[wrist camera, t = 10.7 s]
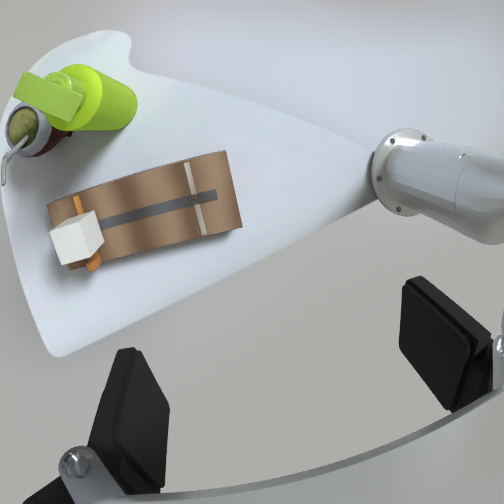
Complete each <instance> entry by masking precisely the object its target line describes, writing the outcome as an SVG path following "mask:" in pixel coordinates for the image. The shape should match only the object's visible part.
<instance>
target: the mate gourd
mask: <svg viewBox="0 0 504 504" xmlns="http://www.w3.org/2000/svg"><path fill="white" fill-rule="evenodd" d="M71 135H72V131H63V130H59V129H56V128H55V127H53V126H52V125H51V124H50V123H49V122H48V120H47V119H46V117H45V114H43V113H41V112H40V111H39V110H38V109H37V108H35V107H33V106H31V105H28V104H26V103H24V102H21V103H20V104H18V105H17V106H16V107H15V108H14V110H13V111H12V112H11V114H10V115H9V118H8V121H7V124H6V138H7V142H8V145H9V146H10V147H11V149H12V150H11V151H10V152H7V153H6V154H5V155H4V157H3V159H2V160H3V161H2V166H1V184H2V186H3V185H5V183H6V166H7V163H8V162H9V161H10V160H11V158H12V156H13V155H14V154H15V153H16V154H18V155H21V156H23V157H36V156H41V155H43V154H44V153H46V152H48V151H50V150H51V149H52V148H53V147H54V146H55V145H56V144H57V143H58V142H59V141H60V139H61V138H62V137H64V136H68V137H71Z"/></svg>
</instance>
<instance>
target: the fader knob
mask: <svg viewBox="0 0 504 504" xmlns="http://www.w3.org/2000/svg"><path fill="white" fill-rule="evenodd" d="M49 232H50V235H51V238H52V241H53V244H54V246H55V249H56V252H57V254H58V257H59V260H60V262H61V265H64V264H68V263H71V262H75V261H79V260H82V259H86V258H90V257H91V256H92V255H93V254H94V253H95V252H96V251H97V250H98V248H99V247H100V246H101V245H102V244H103V243H104V239H103V236H102V233H101V230H100V227H99V224H98V221H97V217H96V214H95V211H94V210H93V211H90V212H87V213H84V214H81V215H78V216H75V217H72V218H69V219H67V220H65V221H64V222H62V223H61V224H59V225H58V226H56V227H55V228H54V229H52V230H51V231H49Z"/></svg>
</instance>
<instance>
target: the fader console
mask: <svg viewBox="0 0 504 504" xmlns="http://www.w3.org/2000/svg"><path fill="white" fill-rule="evenodd" d="M47 207H48V211H49V214H50V217H51V220H52V223H53V226H54V228H55V227H56V226H58V225H59V224H61V223H62V222H64V221H65V220H67V219H69V218H72V217H75V216H78V215H81V214H84V213H87V212H90V211H93V210H94V211H95V214H96V217H97V221H98V224H99V227H100V230H101V233H102V236H103V239H104V243H103V244H102V245H101V246H100V247H99V248H98V250H97V251H96V252H95V253H94V254H93V255H92V256H91V257H90V258H86V259H82V260H79V261H75V262H71V263H68V267H69V269H70V270H73V269H77V268H81V267H85V266H86V267H87V269H88V272H90V271H94V270H96V269H97V268H98V266H99V265H100V264H101V262H104V261H107V260H111V259H115V258H119V257H123V256H127V255H131V254H135V253H138V252H142V251H146V250H150V249H154V248H158V247H162V246H166V245H170V244H175V243H179V242H183V241H187V240H191V239H195V238H199V237H203V236H208V235H212V234H216V233H220V232H224V231H229V230H233V229H237V228H242V222H241V218H240V213H239V209H238V204H237V200H236V195H235V190H234V186H233V181H232V177H231V172H230V168H229V163H228V159H227V154H226V151H225V150H223V151H218V152H214V153H210V154H206V155H201V156H197V157H193V158H189V159H185V160H182V161H178V162H174V163H170V164H166V165H163V166H159V167H156V168H152V169H149V170H145V171H142V172H138V173H135V174H132V175H128V176H125V177H122V178H119V179H115V180H112V181H109V182H106V183H103V184H100V185H97V186H94V187H91V188H88V189H85V190H82V191H80V192H77V193H74V194H71V195H68V196H66V197H63V198H60V199H58V200H55V201H53V202H51V203H50V204H48V205H47Z"/></svg>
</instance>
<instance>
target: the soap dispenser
mask: <svg viewBox="0 0 504 504" xmlns="http://www.w3.org/2000/svg"><path fill="white" fill-rule="evenodd" d="M13 97H15V98H17V99H18V100H20V101H22V102H24V103H26V104H28V105H31V106H33V107H35V108H37V109H38V110H39V111H40V112H41V113H43V114H45V117H46V119H47V120H48V122H49V123H50V124H51V125H52V126H53V127H55V128H56V129H59V130H63V131H85V130H118V129H121V128H123V127H125V126H126V125H128V124H129V123H130V122H131V120H132V119H133V117H134V116H135V113H136V110H137V99H136V96H135V94H134V92H133V91H132V90H131V89H130V88H129V87H127V86H125V85H124V84H122V83H120V82H118V81H116V80H114V79H112V78H110V77H108V76H107V75H105V74H103V73H101V72H99V71H97V70H95V69H93V68H91V67H89V66H86V65H82V64H75V65H70V66H68V67H65V68H63V69H62V70H60V71H59V72H54V73H51V74H49V75H47V76H46V77H45V78H42V77H39V76H37V75H35V74H32V73H30V72H27V71H24V73H23V75H22V77H21V79H20V81H19V83H18V85H17V88H16V90H15V92H14V94H13Z"/></svg>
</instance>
